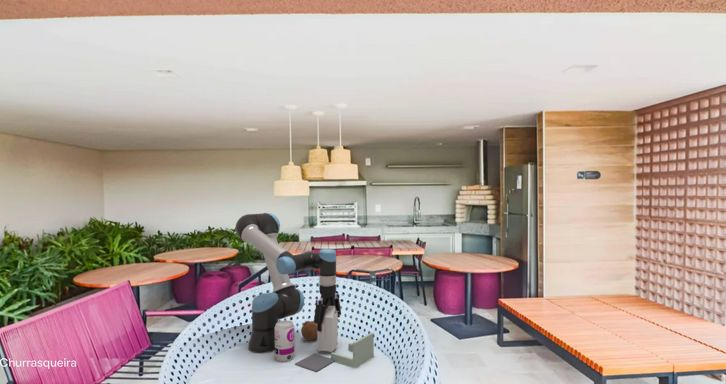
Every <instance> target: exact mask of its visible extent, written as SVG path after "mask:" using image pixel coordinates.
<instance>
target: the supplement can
mask: <svg viewBox="0 0 726 384" xmlns="http://www.w3.org/2000/svg"><path fill="white" fill-rule="evenodd" d="M294 357H295V324H294V323H293V321H291V320H281V321H278V322H277V323H276V326H275V350H274V359H275V360H276V361H277V362H279V363H280V362H282V363H285V362H290V361H293V359H294Z"/></svg>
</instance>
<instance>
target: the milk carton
mask: <svg viewBox="0 0 726 384" xmlns="http://www.w3.org/2000/svg"><path fill="white" fill-rule="evenodd" d="M323 306H324V305H323ZM338 323H339V317H338V313H337V311H336V309H335V306H328V308H327V309H326V312H325V316H324V319H323V324H324V339H321V338H318V330H317V339H316V342H317V345H316V346H317V347H316V348H317V351H323V352H330V353H332V352H333V353H334V350H336V348H337V347H338V346H339V345H338V343H339V342H338V341H339V340H338V339H339V338H338V337H339V335H338V327H339V326H338V325H339V324H338Z"/></svg>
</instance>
